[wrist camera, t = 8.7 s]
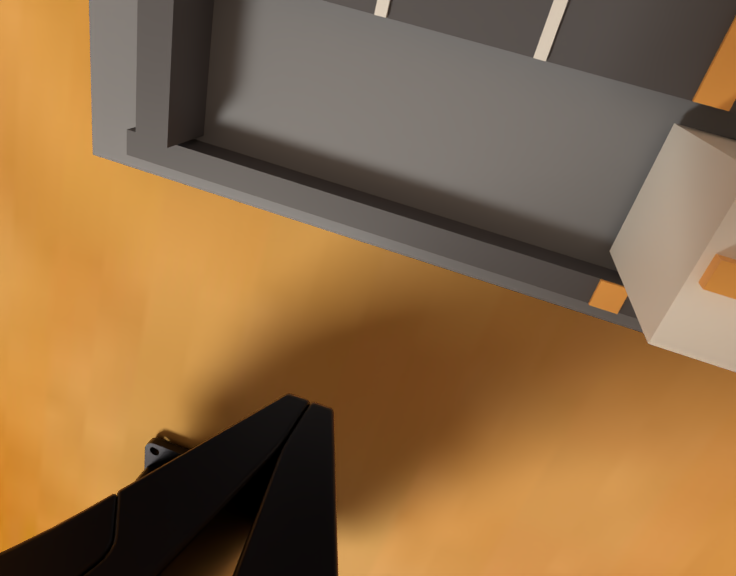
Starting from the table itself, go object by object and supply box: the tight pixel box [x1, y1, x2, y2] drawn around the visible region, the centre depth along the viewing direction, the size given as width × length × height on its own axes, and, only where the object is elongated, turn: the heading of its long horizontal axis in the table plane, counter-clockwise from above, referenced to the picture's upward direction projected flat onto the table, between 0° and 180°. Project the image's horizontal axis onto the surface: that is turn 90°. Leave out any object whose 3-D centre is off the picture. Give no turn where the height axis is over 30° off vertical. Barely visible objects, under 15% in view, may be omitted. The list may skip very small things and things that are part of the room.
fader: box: [610, 123, 736, 372], centre depth 11 cm, size 2×4×5 cm, turn 167°
